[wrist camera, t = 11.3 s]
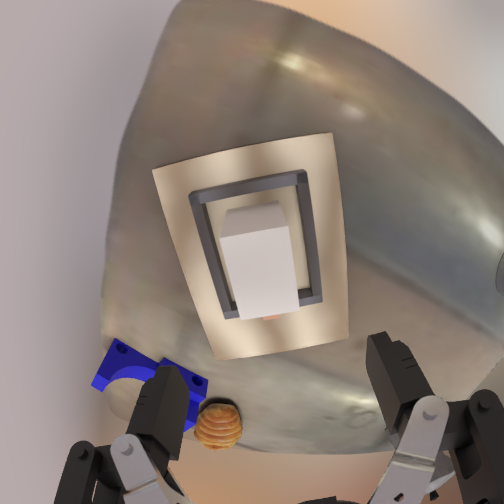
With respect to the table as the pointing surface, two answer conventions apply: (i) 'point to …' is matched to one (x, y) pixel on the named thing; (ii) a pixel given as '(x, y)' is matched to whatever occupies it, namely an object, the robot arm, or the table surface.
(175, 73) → the table surface
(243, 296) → the keyed plug
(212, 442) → the pastry
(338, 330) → the board
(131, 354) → the cable clip
